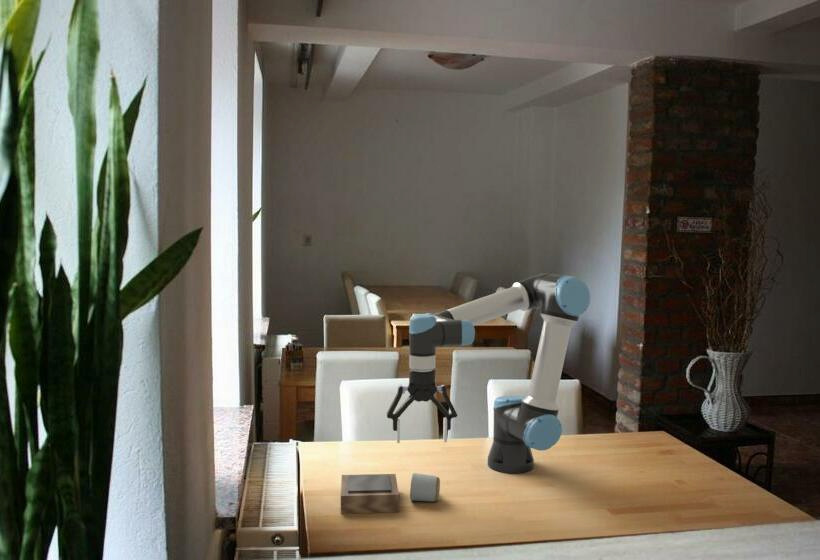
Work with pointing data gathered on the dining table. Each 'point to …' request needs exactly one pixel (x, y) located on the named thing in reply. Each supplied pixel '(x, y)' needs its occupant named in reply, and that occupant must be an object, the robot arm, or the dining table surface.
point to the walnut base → (369, 493)
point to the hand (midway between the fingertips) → (421, 441)
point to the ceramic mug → (424, 487)
